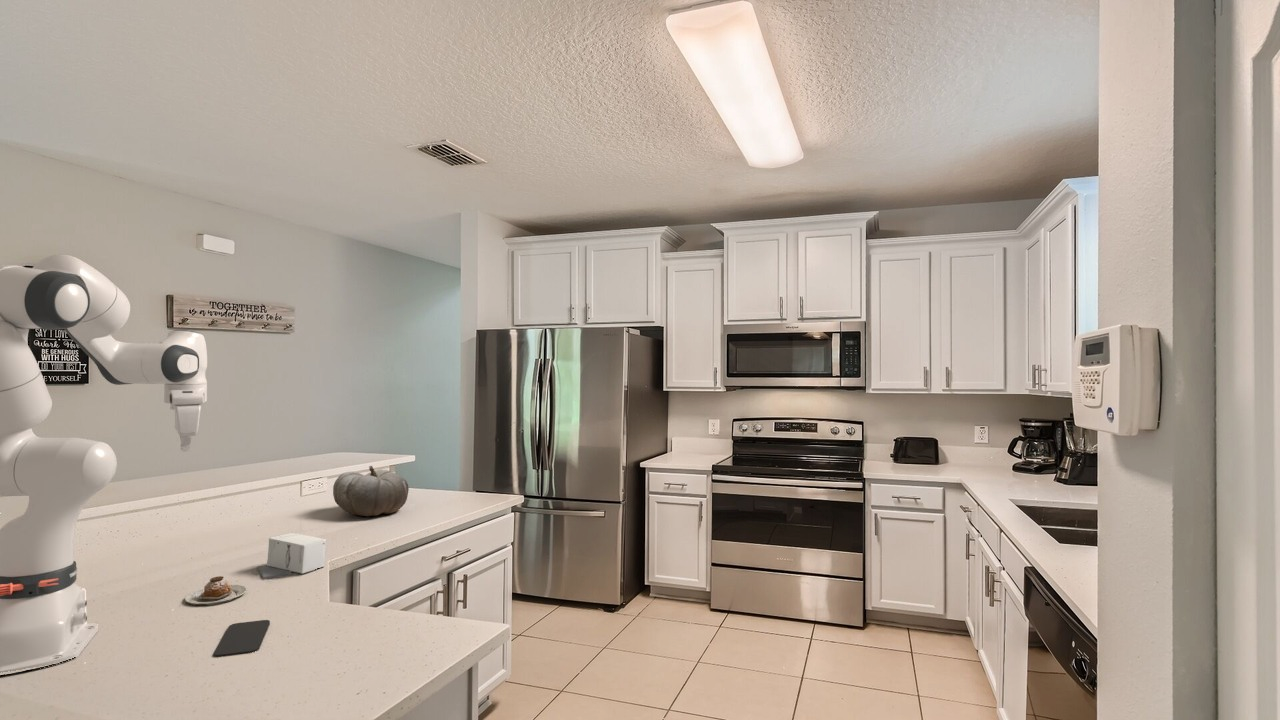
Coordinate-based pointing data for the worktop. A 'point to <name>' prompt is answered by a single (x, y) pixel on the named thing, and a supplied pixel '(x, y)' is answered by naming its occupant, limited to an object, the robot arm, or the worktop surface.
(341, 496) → the gourd
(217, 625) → the worktop surface
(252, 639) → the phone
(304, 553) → the supplement box
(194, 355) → the robot arm
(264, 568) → the slate mat
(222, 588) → the pastry
